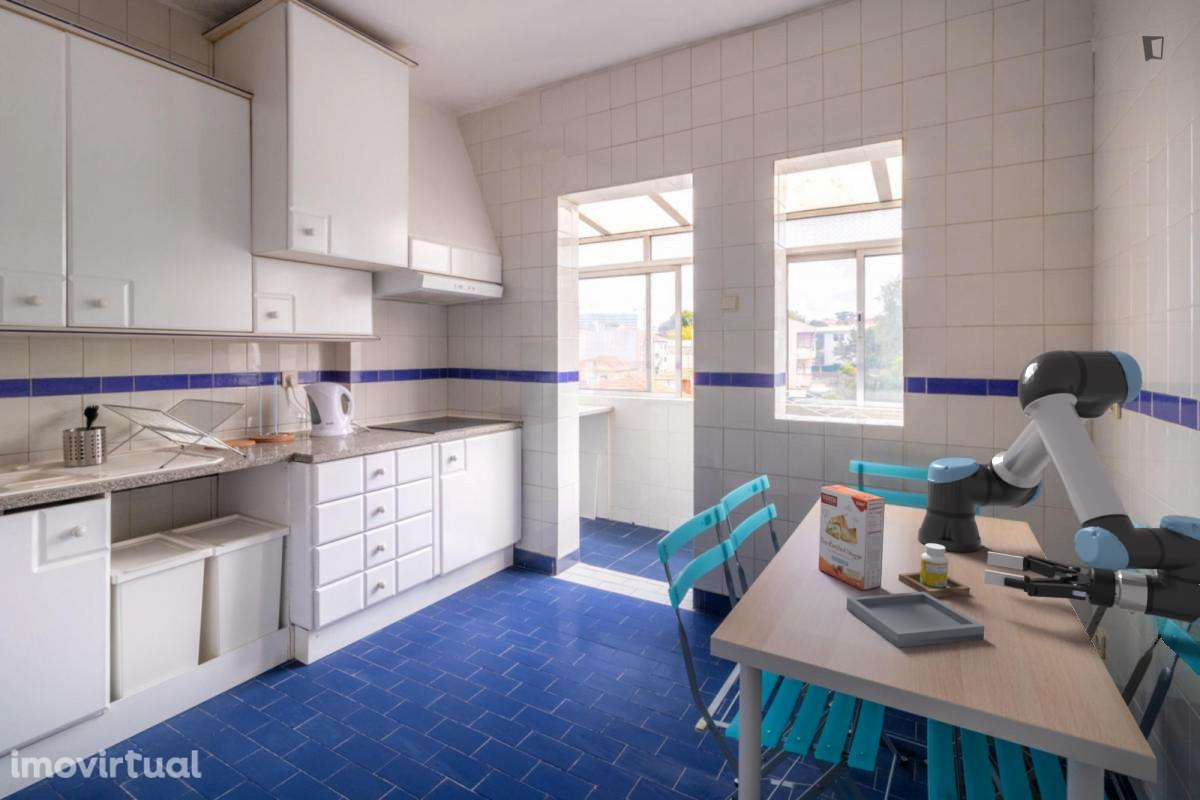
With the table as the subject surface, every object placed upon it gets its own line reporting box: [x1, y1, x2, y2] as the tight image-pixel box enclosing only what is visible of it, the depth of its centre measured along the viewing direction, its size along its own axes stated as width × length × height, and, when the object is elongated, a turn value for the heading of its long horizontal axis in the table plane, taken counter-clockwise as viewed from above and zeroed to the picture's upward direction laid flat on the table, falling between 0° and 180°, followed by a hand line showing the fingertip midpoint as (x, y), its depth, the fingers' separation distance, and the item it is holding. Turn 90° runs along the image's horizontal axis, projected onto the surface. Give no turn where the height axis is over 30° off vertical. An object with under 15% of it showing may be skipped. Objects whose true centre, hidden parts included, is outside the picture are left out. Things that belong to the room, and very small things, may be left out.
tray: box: [846, 591, 986, 648], centre depth 119 cm, size 18×16×2 cm
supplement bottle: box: [919, 543, 949, 589], centre depth 136 cm, size 5×5×10 cm
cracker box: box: [818, 484, 886, 591], centre depth 140 cm, size 14×6×21 cm, turn 23°
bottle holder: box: [898, 571, 971, 598], centre depth 136 cm, size 10×10×2 cm
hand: (985, 566), depth 130 cm, fingers open, 13 cm apart
